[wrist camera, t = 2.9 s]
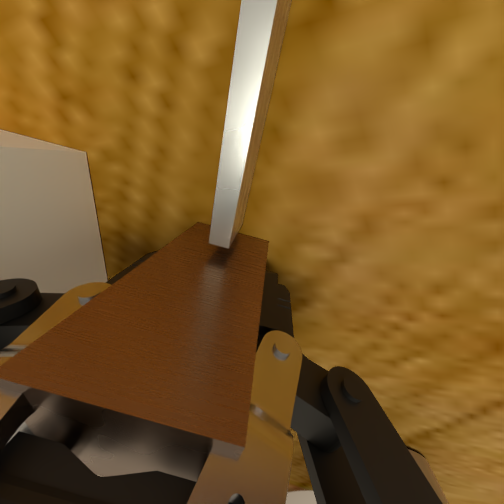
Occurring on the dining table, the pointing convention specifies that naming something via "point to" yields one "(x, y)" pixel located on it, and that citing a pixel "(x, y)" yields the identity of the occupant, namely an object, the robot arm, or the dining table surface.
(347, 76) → the dining table surface
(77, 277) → the plinth shelf
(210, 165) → the dining table surface
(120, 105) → the dining table surface
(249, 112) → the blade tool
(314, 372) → the robot arm
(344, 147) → the dining table surface
